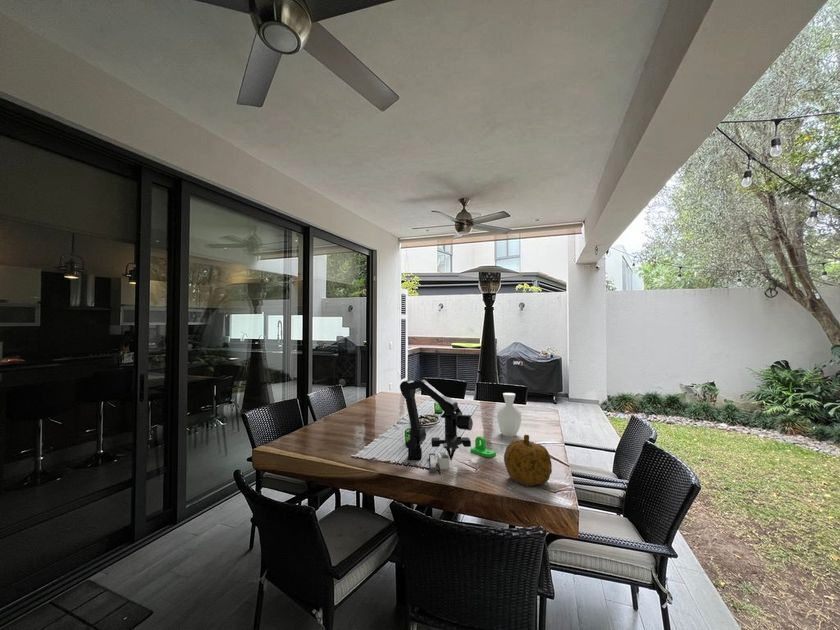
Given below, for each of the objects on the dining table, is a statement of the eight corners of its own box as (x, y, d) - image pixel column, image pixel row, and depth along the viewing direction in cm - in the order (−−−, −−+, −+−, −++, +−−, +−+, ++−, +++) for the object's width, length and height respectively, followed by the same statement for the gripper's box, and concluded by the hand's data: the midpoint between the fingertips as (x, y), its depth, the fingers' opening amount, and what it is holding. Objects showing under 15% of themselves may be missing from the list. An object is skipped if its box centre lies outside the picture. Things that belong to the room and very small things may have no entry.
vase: (496, 437, 213) (496, 395, 214) (498, 430, 227) (498, 391, 227) (521, 439, 209) (520, 397, 209) (521, 432, 222) (521, 392, 223)
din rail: (430, 474, 160) (430, 468, 160) (429, 458, 178) (429, 453, 178) (436, 474, 160) (436, 468, 160) (435, 458, 178) (435, 453, 178)
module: (439, 469, 165) (439, 458, 165) (436, 463, 173) (436, 452, 173) (449, 469, 166) (449, 458, 166) (446, 462, 174) (446, 451, 174)
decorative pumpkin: (505, 490, 145) (505, 441, 146) (502, 469, 166) (502, 426, 166) (556, 494, 142) (556, 444, 142) (547, 473, 162) (547, 429, 163)
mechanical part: (470, 452, 188) (470, 437, 188) (477, 449, 192) (477, 434, 192) (488, 458, 179) (488, 443, 179) (495, 456, 183) (495, 440, 183)
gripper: (432, 432, 162) (432, 466, 162) (472, 432, 162) (472, 466, 162) (431, 425, 173) (431, 457, 173) (469, 425, 173) (469, 457, 173)
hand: (450, 459), depth 170 cm, fingers closed
